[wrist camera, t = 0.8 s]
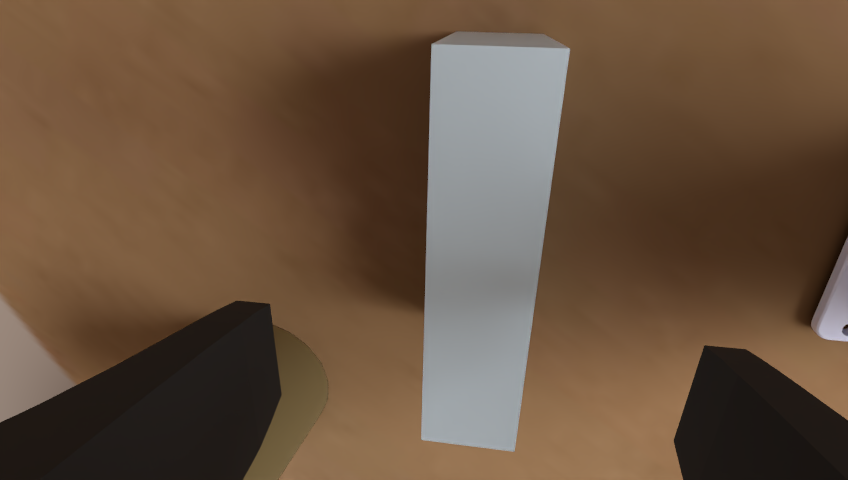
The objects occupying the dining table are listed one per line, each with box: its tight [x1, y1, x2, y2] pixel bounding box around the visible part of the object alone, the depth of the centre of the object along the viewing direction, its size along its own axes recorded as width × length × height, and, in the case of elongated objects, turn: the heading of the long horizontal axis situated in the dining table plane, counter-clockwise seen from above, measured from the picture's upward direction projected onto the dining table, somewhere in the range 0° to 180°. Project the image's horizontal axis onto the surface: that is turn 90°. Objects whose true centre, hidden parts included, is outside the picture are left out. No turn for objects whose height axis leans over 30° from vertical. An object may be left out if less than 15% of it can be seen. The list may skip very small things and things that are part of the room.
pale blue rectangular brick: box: [421, 31, 570, 452], centre depth 14 cm, size 10×2×6 cm, turn 179°
